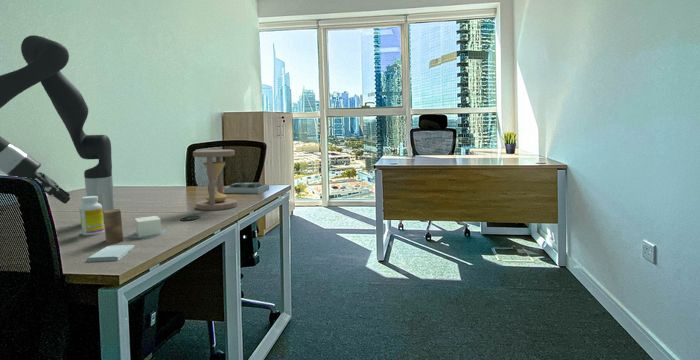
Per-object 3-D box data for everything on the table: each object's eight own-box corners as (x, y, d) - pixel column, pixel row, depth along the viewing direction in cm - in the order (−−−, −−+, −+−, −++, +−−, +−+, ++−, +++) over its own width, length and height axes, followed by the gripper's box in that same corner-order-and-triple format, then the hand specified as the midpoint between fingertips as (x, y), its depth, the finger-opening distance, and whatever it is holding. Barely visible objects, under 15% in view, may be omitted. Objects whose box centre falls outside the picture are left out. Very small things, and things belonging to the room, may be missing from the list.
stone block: (238, 190, 248) (238, 181, 247) (262, 191, 245) (262, 181, 244) (230, 193, 239) (229, 183, 239) (255, 193, 236) (254, 184, 235)
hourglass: (209, 202, 210) (205, 149, 207) (243, 203, 207) (241, 149, 204) (188, 210, 193) (184, 152, 190) (225, 210, 190) (222, 152, 186)
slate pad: (120, 238, 147) (120, 237, 146) (144, 229, 158) (144, 228, 158) (150, 239, 144) (150, 238, 144) (172, 230, 156) (172, 229, 156)
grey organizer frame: (224, 193, 239) (223, 187, 238) (236, 188, 253) (236, 183, 253) (258, 193, 235) (258, 187, 234) (269, 189, 249) (269, 184, 248)
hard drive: (117, 256, 123) (134, 244, 135) (86, 257, 122) (106, 245, 134) (118, 262, 123) (135, 249, 135) (86, 263, 122) (106, 250, 134)
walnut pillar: (107, 244, 139) (104, 212, 138) (106, 241, 143) (103, 210, 142) (123, 242, 142) (120, 211, 140) (121, 239, 146) (119, 208, 144)
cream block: (138, 237, 146) (137, 222, 146) (135, 232, 152) (134, 218, 151) (161, 233, 150) (160, 219, 149) (157, 229, 156) (156, 215, 155)
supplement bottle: (108, 232, 155) (105, 195, 153) (91, 237, 149) (87, 199, 147) (95, 230, 158) (92, 194, 156) (77, 235, 152) (74, 197, 150)
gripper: (25, 155, 122) (78, 192, 130) (28, 152, 134) (76, 187, 141) (2, 176, 120) (58, 212, 127) (8, 171, 132) (58, 205, 139)
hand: (67, 199), depth 134 cm, fingers open, 8 cm apart
